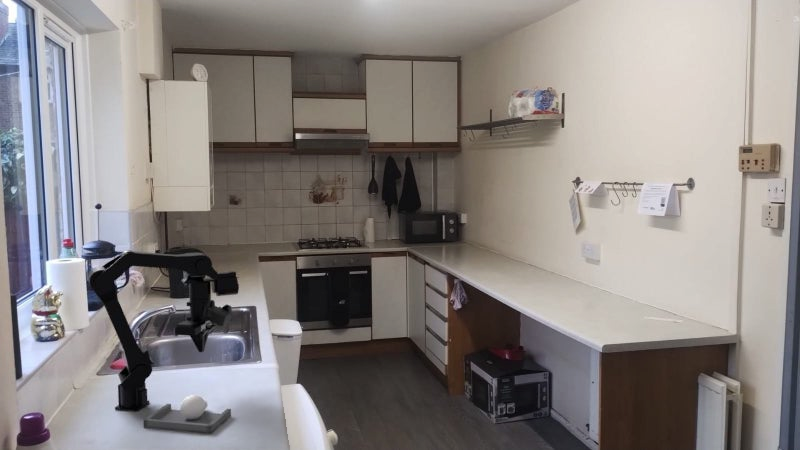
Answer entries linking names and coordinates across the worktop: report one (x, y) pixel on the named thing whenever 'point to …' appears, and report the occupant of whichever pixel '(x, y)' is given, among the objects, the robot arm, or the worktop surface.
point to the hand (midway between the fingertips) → (201, 351)
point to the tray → (185, 421)
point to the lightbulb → (193, 407)
